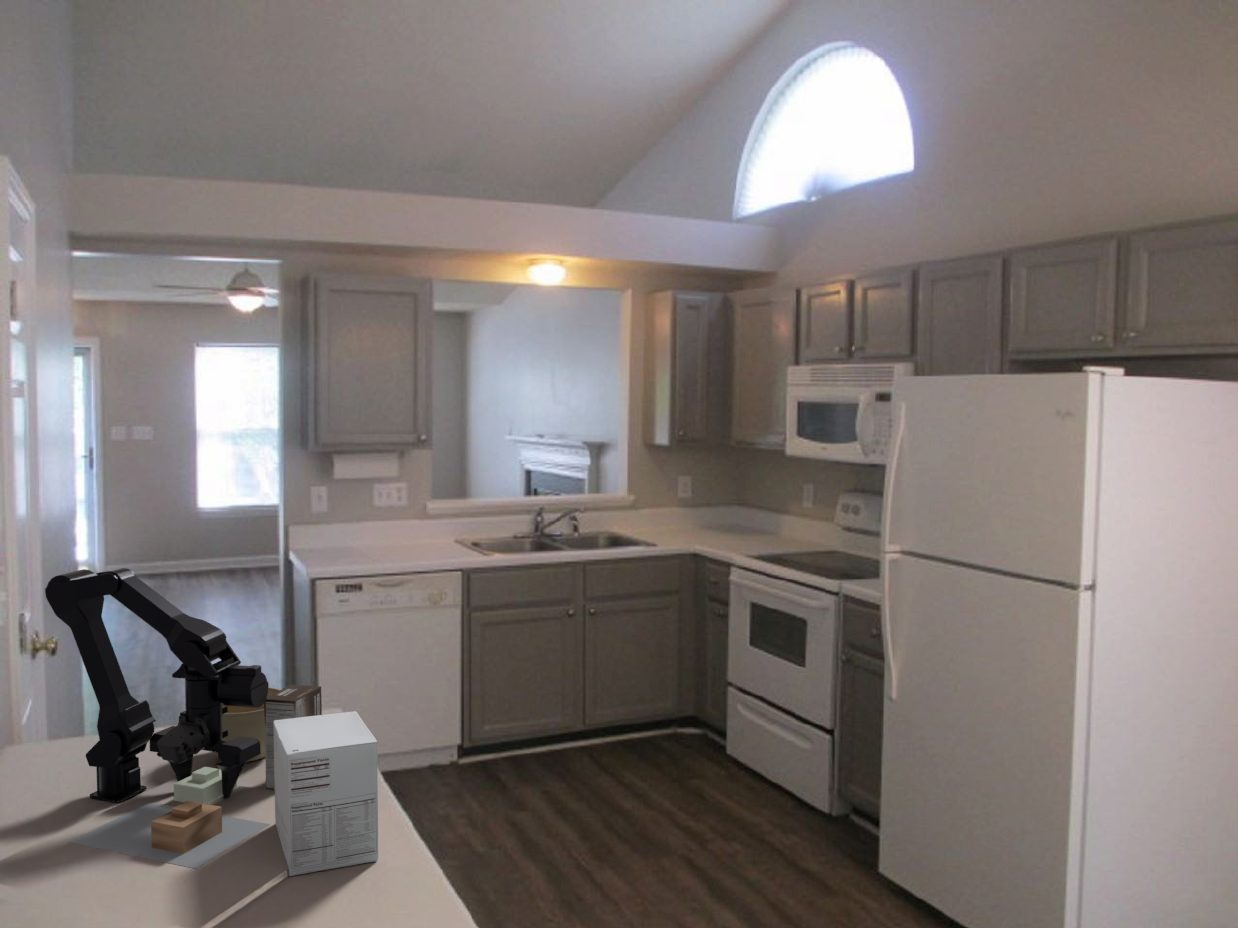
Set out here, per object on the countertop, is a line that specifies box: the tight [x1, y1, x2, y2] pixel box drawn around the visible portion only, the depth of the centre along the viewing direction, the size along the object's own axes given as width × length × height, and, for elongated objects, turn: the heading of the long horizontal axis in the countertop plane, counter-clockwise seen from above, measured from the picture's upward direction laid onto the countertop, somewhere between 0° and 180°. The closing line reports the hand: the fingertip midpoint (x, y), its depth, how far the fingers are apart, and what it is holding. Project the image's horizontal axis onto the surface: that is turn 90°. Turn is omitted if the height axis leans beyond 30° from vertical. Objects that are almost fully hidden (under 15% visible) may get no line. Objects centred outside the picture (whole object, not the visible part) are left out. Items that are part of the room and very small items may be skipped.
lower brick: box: [151, 801, 223, 854], centre depth 155 cm, size 8×6×5 cm
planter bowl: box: [215, 687, 281, 763], centre depth 194 cm, size 16×16×11 cm
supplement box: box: [273, 710, 379, 877], centre depth 155 cm, size 17×13×18 cm
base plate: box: [68, 801, 271, 870], centre depth 157 cm, size 24×16×1 cm, turn 70°
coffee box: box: [264, 684, 323, 790], centre depth 181 cm, size 9×6×16 cm
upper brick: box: [173, 766, 238, 804], centre depth 172 cm, size 8×6×5 cm
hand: (205, 794), depth 172 cm, fingers open, 8 cm apart
